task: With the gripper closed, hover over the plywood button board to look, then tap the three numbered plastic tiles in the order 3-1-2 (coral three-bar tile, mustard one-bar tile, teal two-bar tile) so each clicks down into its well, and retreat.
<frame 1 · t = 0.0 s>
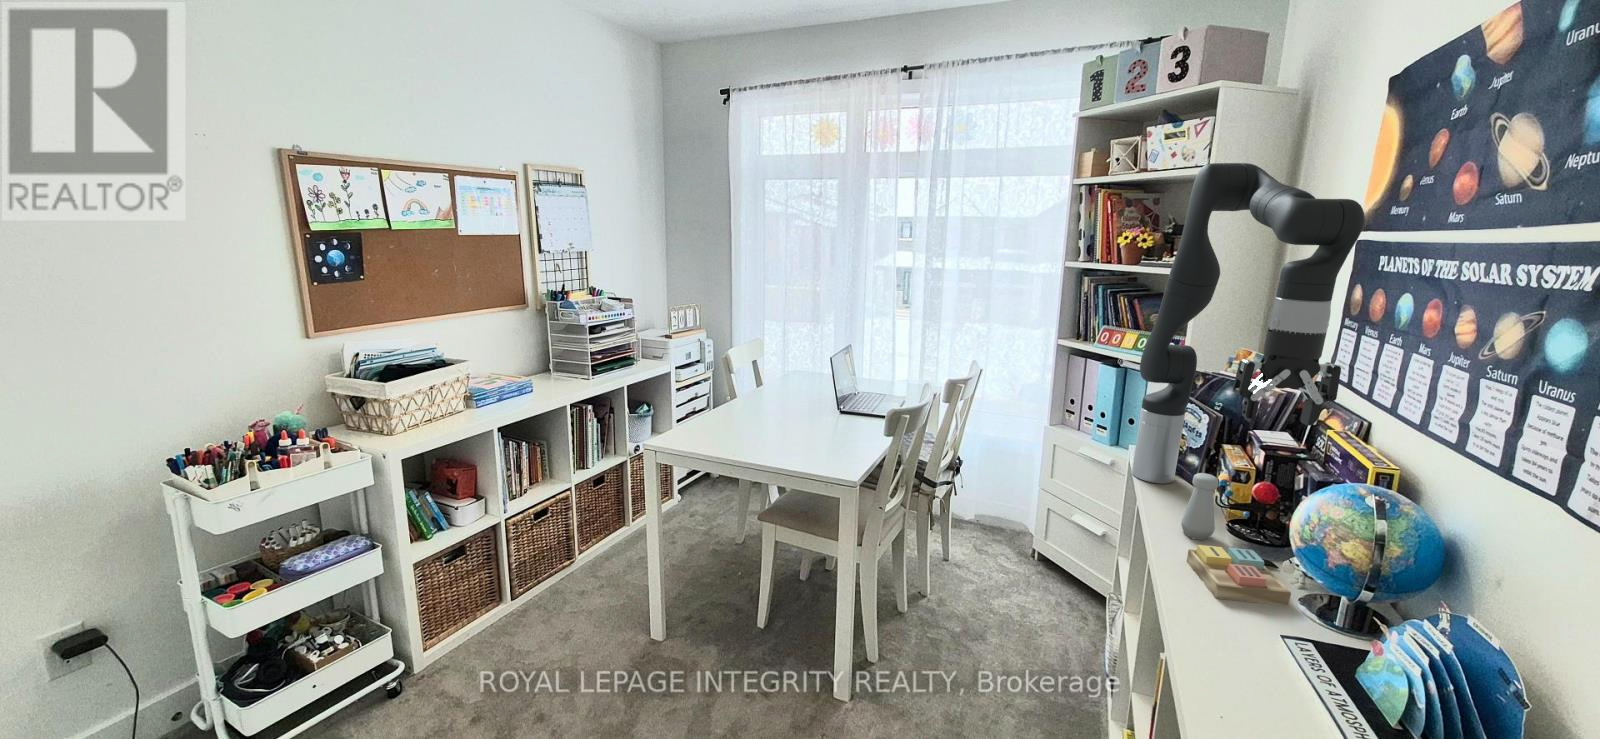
hand: (1277, 422, 105), 29 cm above the shelf top, fingers open, 8 cm apart
tile 2: (1244, 560, 112), point 3 cm above the shelf top, slide at 0.0 cm
tile 3: (1245, 577, 107), point 3 cm above the shelf top, slide at 0.0 cm
button board: (1234, 582, 110), on the shelf top
salt shaker: (1195, 536, 126), on the shelf top
tile 1: (1213, 557, 113), point 3 cm above the shelf top, slide at 0.0 cm
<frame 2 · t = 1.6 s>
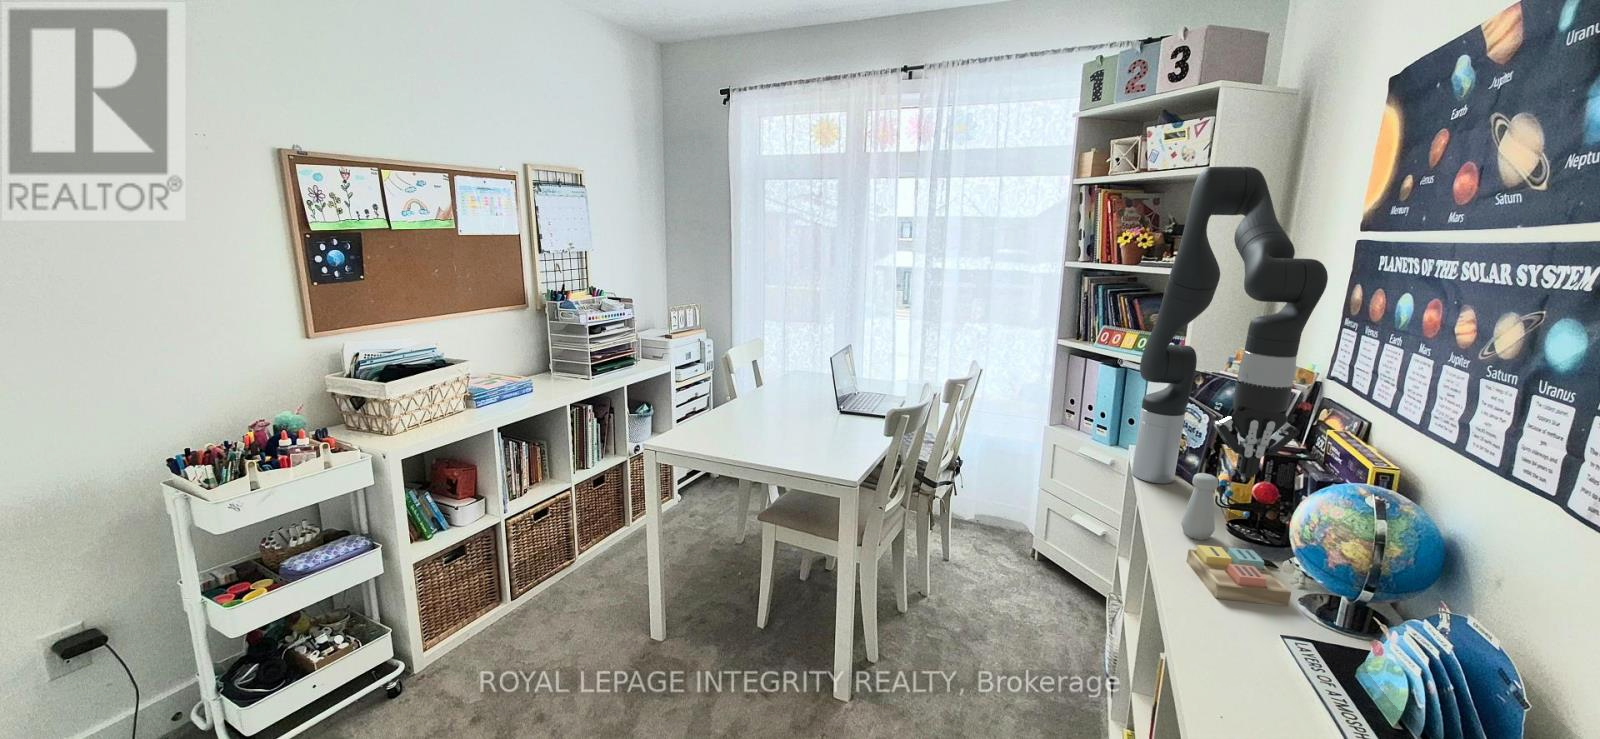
hand: (1245, 475, 108), 19 cm above the shelf top, fingers closed
nothing on the shelf top moved.
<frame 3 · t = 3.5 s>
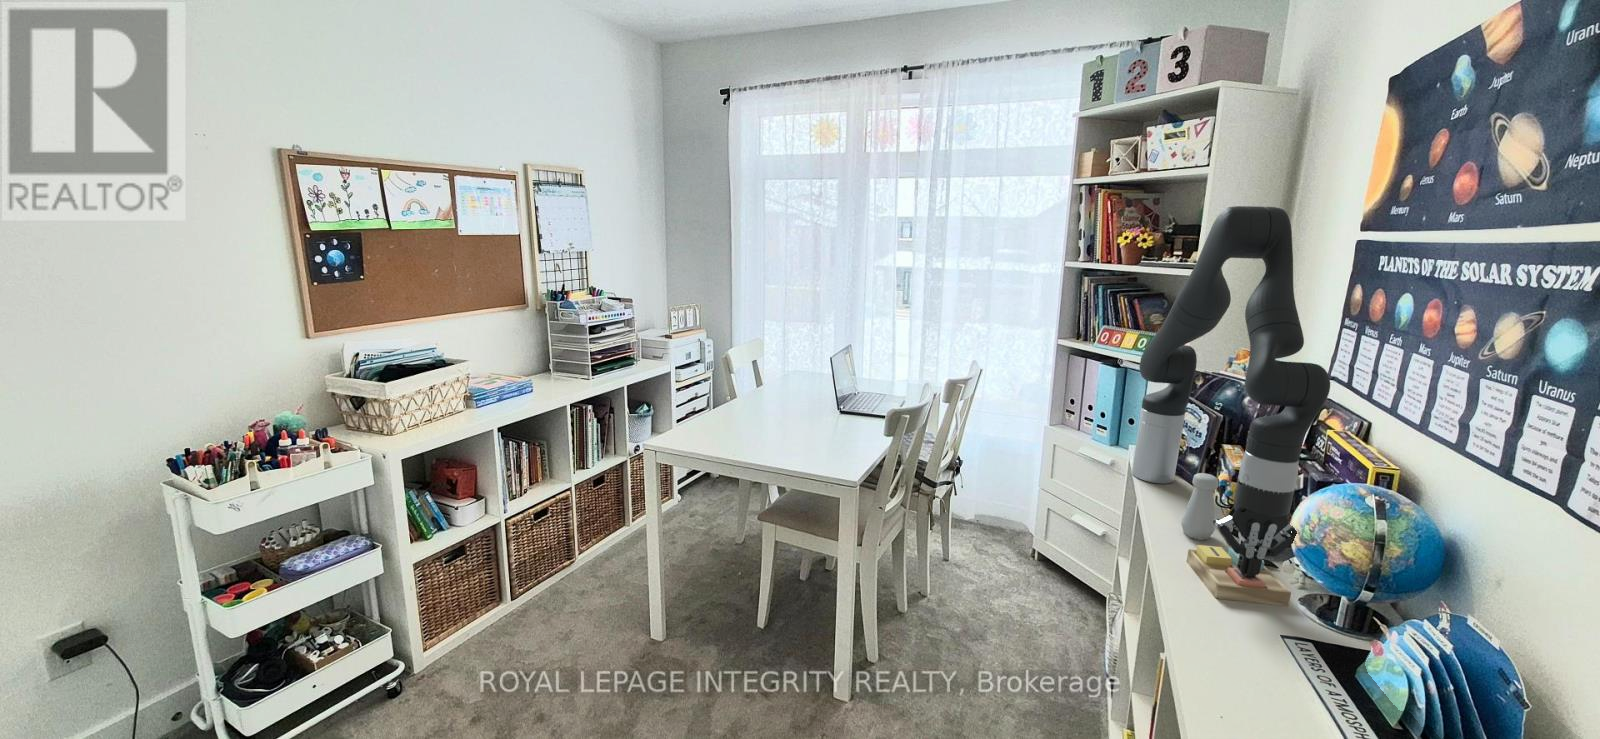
hand: (1246, 575, 106), 3 cm above the shelf top, fingers closed
tile 3: (1245, 581, 107), point 2 cm above the shelf top, slide at 0.7 cm, touching gripper
everything else where it was.
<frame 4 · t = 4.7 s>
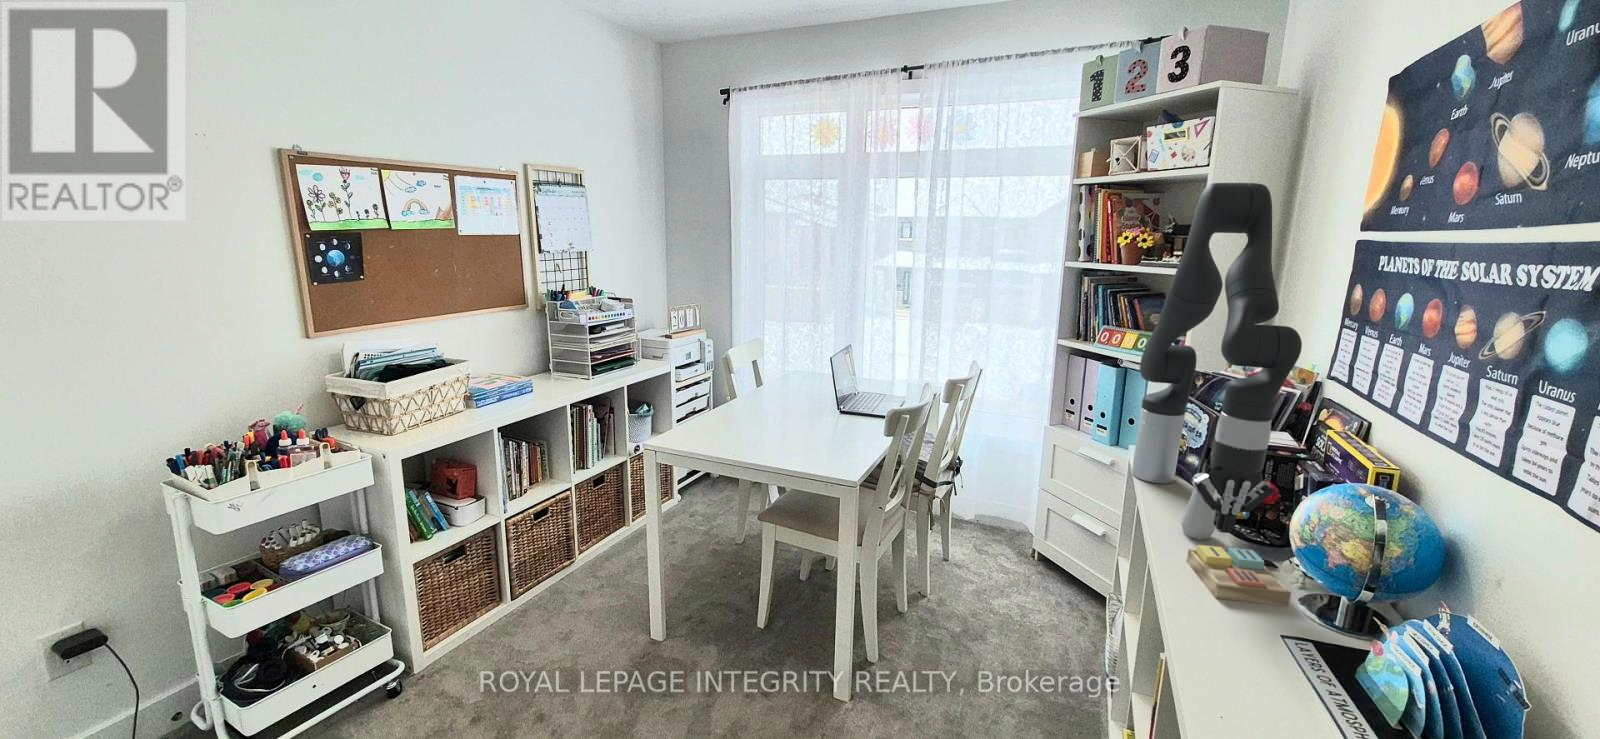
hand: (1222, 530, 111), 8 cm above the shelf top, fingers closed
tile 3: (1245, 581, 107), point 2 cm above the shelf top, slide at 0.9 cm
everything else where it was.
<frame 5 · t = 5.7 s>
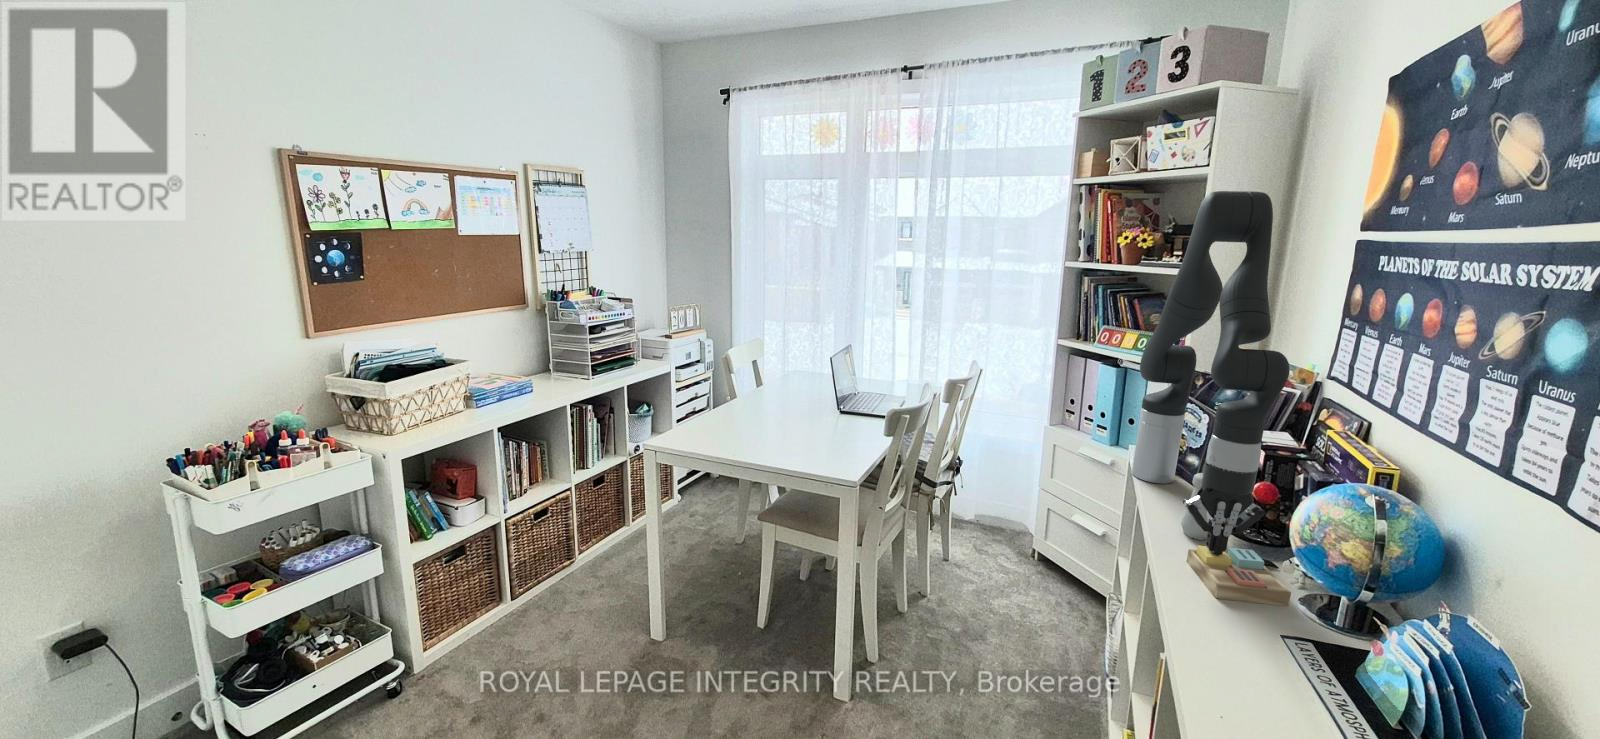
hand: (1214, 552, 112), 4 cm above the shelf top, fingers closed
tile 1: (1213, 557, 113), point 3 cm above the shelf top, slide at 0.1 cm, touching gripper
everything else where it was.
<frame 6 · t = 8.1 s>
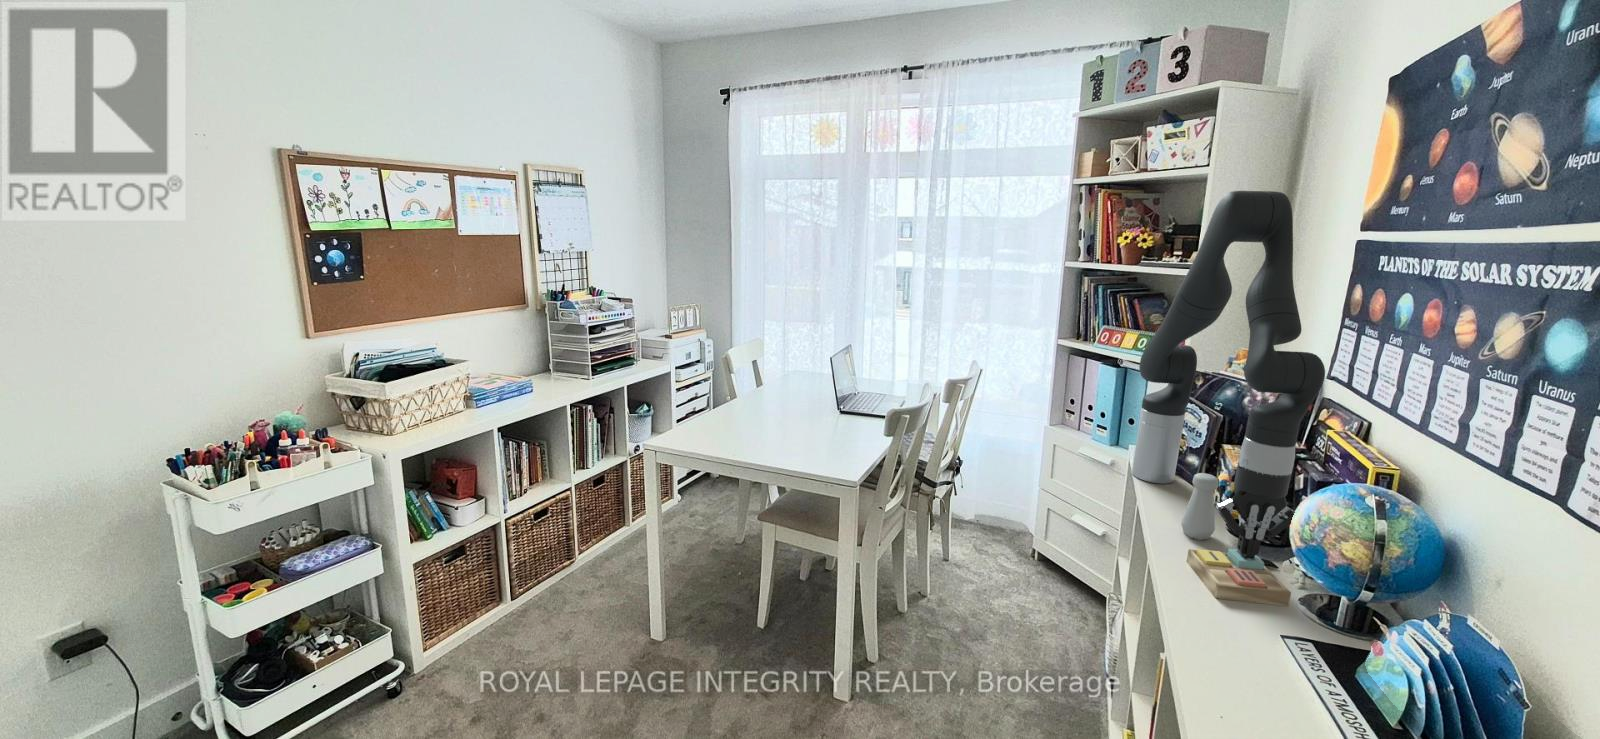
hand: (1246, 555, 112), 4 cm above the shelf top, fingers closed
tile 2: (1244, 561, 112), point 3 cm above the shelf top, slide at 0.2 cm, touching gripper
tile 1: (1212, 561, 113), point 2 cm above the shelf top, slide at 0.9 cm
everything else where it was.
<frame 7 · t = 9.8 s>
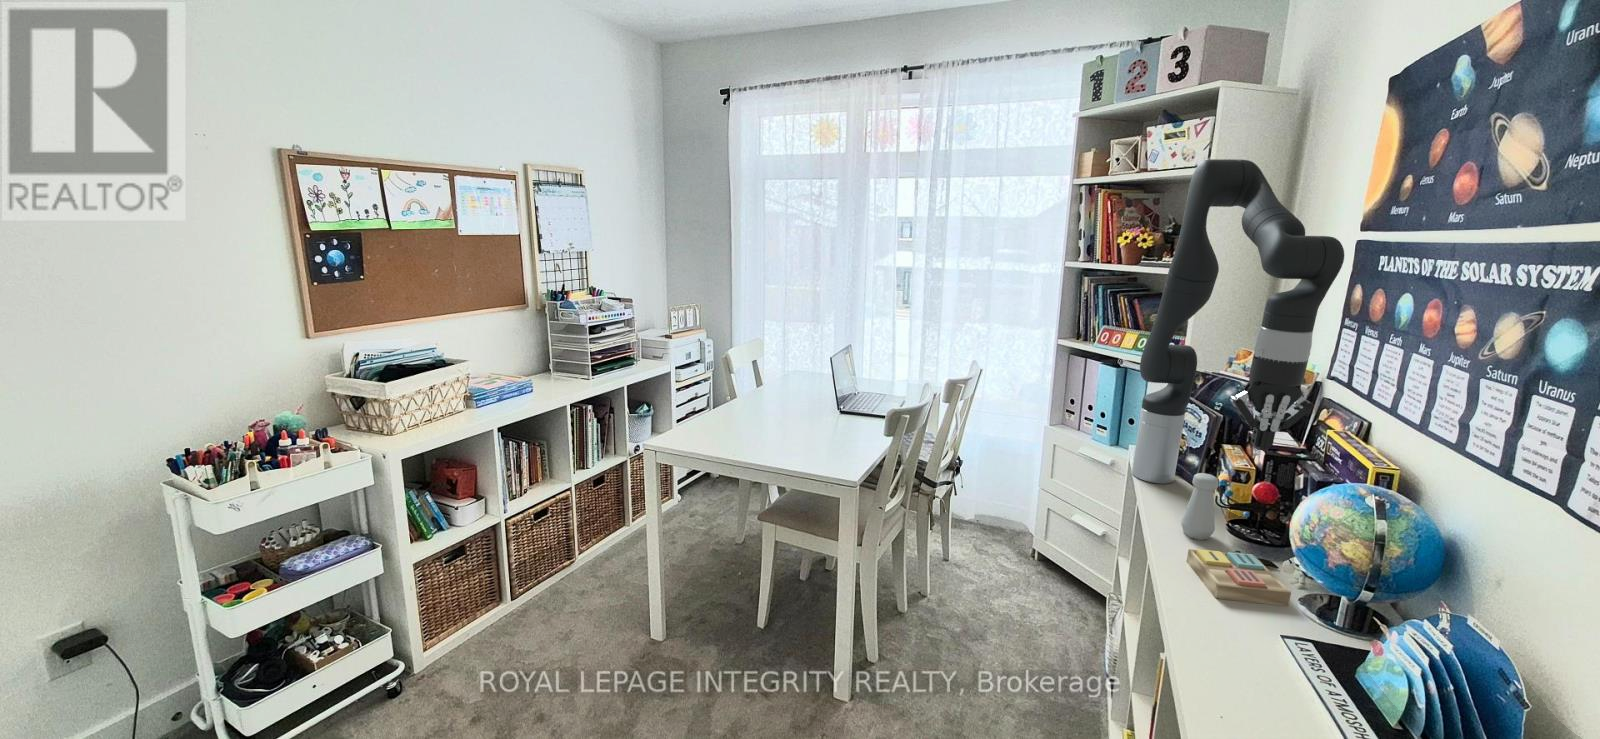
hand: (1260, 448, 112), 22 cm above the shelf top, fingers closed
tile 2: (1244, 564, 112), point 2 cm above the shelf top, slide at 0.9 cm
everything else where it was.
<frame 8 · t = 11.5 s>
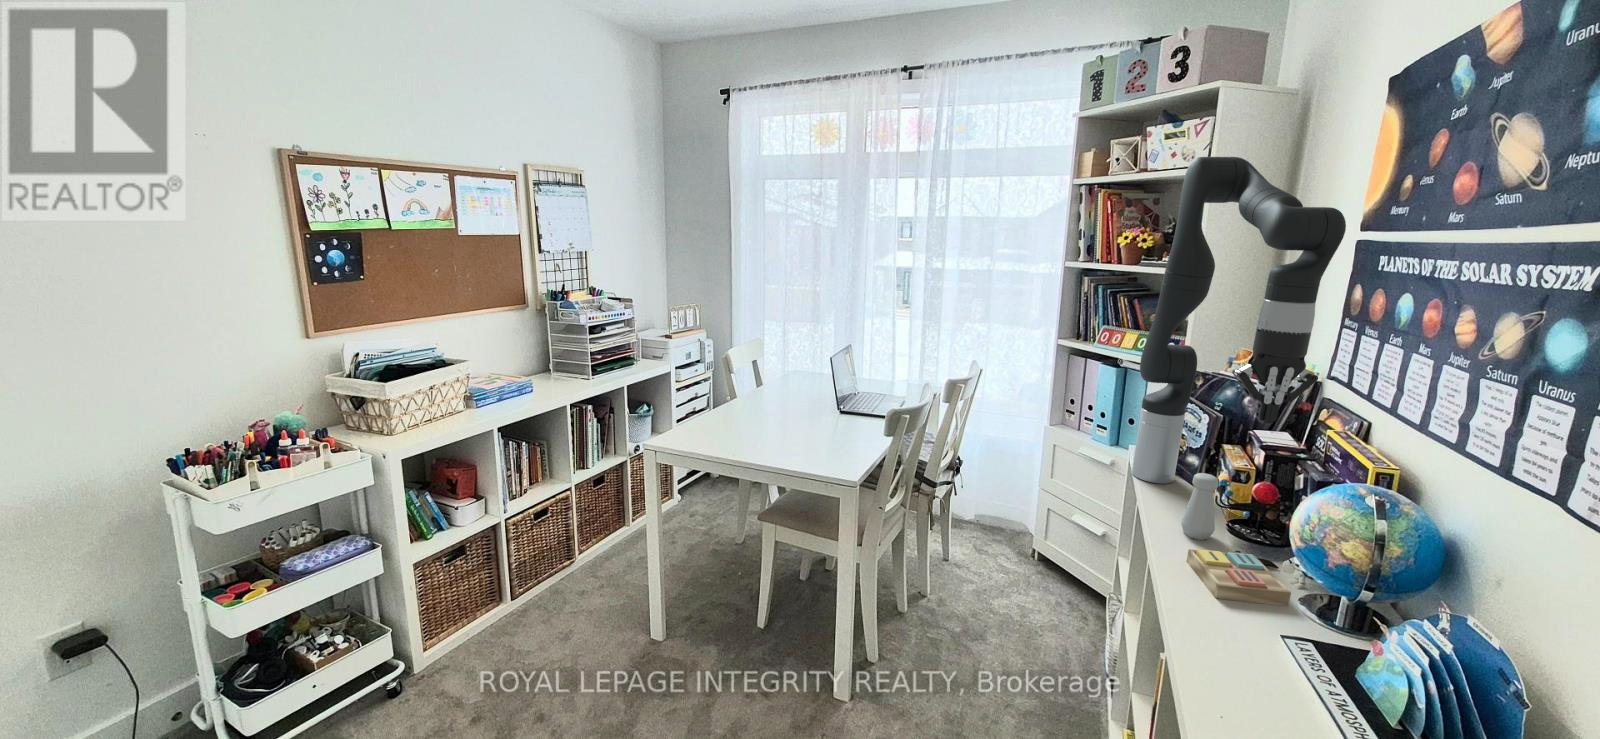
hand: (1264, 422, 111), 27 cm above the shelf top, fingers closed
nothing on the shelf top moved.
at the end: tile 3 slide at 0.9 cm; tile 1 slide at 0.9 cm; tile 2 slide at 0.9 cm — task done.
